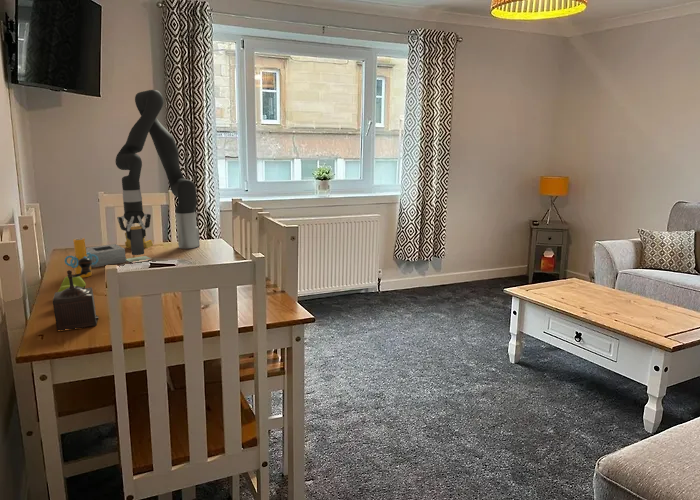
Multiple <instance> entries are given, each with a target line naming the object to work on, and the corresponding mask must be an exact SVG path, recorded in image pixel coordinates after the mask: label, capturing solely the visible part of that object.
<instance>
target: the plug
mask: <svg viewBox="0 0 700 500" xmlns="http://www.w3.org/2000/svg"><path fill="white" fill-rule="evenodd" d="M130 231H131V240H130V242H131V248H130V250H131V255H132V256H141V255H145V248H144V244H143V234H142V227H141V226H140V225H136V226H135V225H133V226H131V228H130Z"/></svg>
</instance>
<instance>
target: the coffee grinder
mask: <svg viewBox="0 0 700 500" xmlns="http://www.w3.org/2000/svg"><path fill="white" fill-rule="evenodd" d="M91 264H92V260H91V259H89V258H82V259H80V260H79V261H78V265H79V266H80V267H81V268H82V270H81V273H80V274H75V273H74V274H73V271H72V270H71V269H68V270H67V271H66V274H67V276H68V278H69V282H70V287H69V288H67V289H65V290H63V291H61V292H58V291H57V292H56V291H55V292H54V295H53V298H52V306H53V313H54V317H55V325H56V331H57V330H65V329H75V328H82V329H85V328H84V327H88V328H93V327H92V326H94V327H96V326H97V324H98V321H99V318H100V317H99V315H97V314H96V313H97V312H96V305H95V298H94V296H95V295H94V290H93V287H92V286H91V287H86V286H84V288H83V287H78V286H75V287H74V285H73V280H72V278H73V277H79V276H81V275H83V274H85V275H86V274H87V273H89V272H91V270H92V269H91V270H90V266H91ZM67 276H66V277H67ZM75 330H76V329H75Z"/></svg>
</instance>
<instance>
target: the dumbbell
mask: <svg viewBox="0 0 700 500" xmlns="http://www.w3.org/2000/svg"><path fill="white" fill-rule="evenodd" d="M72 280H73V285H74V287H75V286H78V287H83V288H84V286H85V287H86V285H87V284H86V282H85V280H84V278H81V277H80V276H79V277H73V278H72ZM69 287H70V282H69V278H68V276H65V277H64V278H63V281H62V282H61V284H60V287H59V288H58V290H57V292H61V291H63V290H65V289H67V288H69Z"/></svg>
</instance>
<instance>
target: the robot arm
mask: <svg viewBox="0 0 700 500" xmlns="http://www.w3.org/2000/svg"><path fill="white" fill-rule="evenodd" d="M164 102H165V101H164V97H163V95H162V93H161V92H160V91H159V90H157V89H148V90H144V91H139V92H137V93H136V94H135V96H134V103H135V106H136V108H137V109H136V110H137V111H138V113H139V115H140V117H139V118H138V120H137V121H136V122H135V124H134V125H133V126H132V127H131V129H130V131H129V133H128V136H127V139H126V142H125V144H124V145H123V146H122V147H121V148H120V150H119V151H118V153H117V154H116V157H115V165H116V168H118V169H119V170H122V171H128V172H129V173H128V175H125V176H123V177H122V178H121V186H122V201H123V211H124V213H123V215H122V216H117V222H118V225H119V227H120V230H121V231H123V232H124V231H125V233H126V237H127V238H128V239H129V240H131V231H130V228H131V227H133V226H132V225H134V224H138V226H141V227H142V234H143V238H144V239H145V237H147V233H146V232H147V231H146V229H148V228H150V224H151V216H152V215H151V214H150V213H144V208H143V207H144V206H143V197H142V191H141V185H140V183H141V182H140V178H141V172H142V169H143V168H142V167H143V162H142V158H141V156H140V155H139V154H138V153H140V152H142V151H143V149H144V146H145V142H146V140H147V138H148V135H150V137H151V140H152V142H153V145H154V147H155V150H156V153H157V155H158V158H159V160H160V161H161V165H162V167H163V169H164V171H165V173H166V178H167V180H168V184H169V188H170V191H171V193H172V194H173V195H174V196H175V197H176V198H177V201H178V202H177V205H176V206H175V208H174V209H175V219H176V230H177V232H176V233H177V240H178V241H177V244H178V249H183V250H185V249H186V250H187V249H188V250H189V249H195V248H198V247H200V246H201V243H200V233H199V227H198V226H197V216H196V213H197V212H196V208H197V188H196V184H195V183H194V182H193V181H192V180H190V179H186V178H185V177H184V175H183V172H182V170H181V168H180V155H179V150H178V149H179V148H178V145H177V144H176V141H175V138H174V136H173V135H172V133H170V132H169V131H168V129H167V128H166V127H165V126H164V125H163V124H162V123H161V122H160V121H159V119H158V115H159V114H160V112H161V110H162V108H163V105H164ZM143 219H145V223H144V222H143ZM124 221H126V225H125V224H124ZM126 237H125V238H126Z"/></svg>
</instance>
